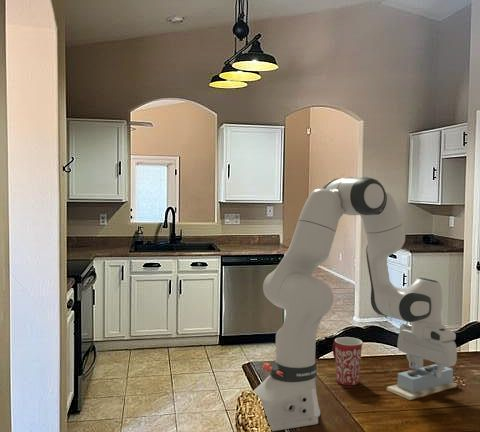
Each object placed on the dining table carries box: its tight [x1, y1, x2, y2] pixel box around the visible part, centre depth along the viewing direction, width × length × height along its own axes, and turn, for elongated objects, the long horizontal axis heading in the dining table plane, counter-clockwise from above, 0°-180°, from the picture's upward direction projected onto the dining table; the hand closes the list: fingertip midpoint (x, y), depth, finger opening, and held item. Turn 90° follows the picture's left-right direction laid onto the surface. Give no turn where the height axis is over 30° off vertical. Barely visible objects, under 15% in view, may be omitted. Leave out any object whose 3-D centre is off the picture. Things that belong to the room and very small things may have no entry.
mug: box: [332, 336, 364, 386], centre depth 167 cm, size 13×9×14 cm
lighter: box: [413, 356, 424, 370], centre depth 180 cm, size 7×2×8 cm, turn 30°
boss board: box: [386, 365, 458, 401], centre depth 160 cm, size 22×9×6 cm, turn 121°
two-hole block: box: [397, 363, 454, 393], centre depth 161 cm, size 19×6×4 cm, turn 121°
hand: (424, 372), depth 161 cm, fingers open, 8 cm apart
